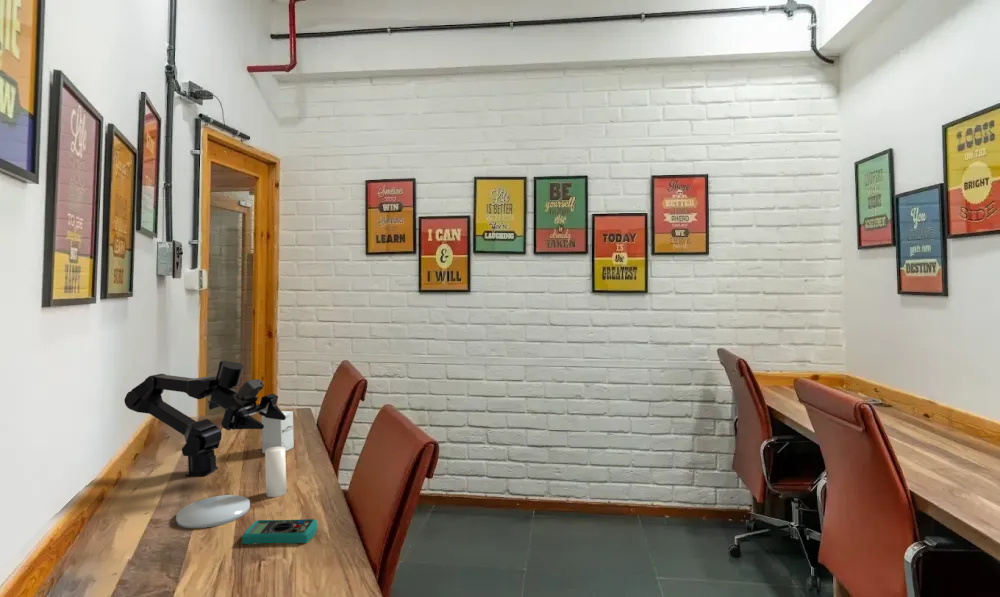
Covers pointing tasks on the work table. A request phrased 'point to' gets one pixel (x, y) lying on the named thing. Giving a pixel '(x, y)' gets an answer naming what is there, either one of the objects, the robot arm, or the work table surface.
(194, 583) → the work table surface
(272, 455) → the white cylindrical post
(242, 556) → the work table surface
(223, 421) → the robot arm
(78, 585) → the work table surface
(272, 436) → the supplement box
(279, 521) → the digital multimeter
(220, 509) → the plate
